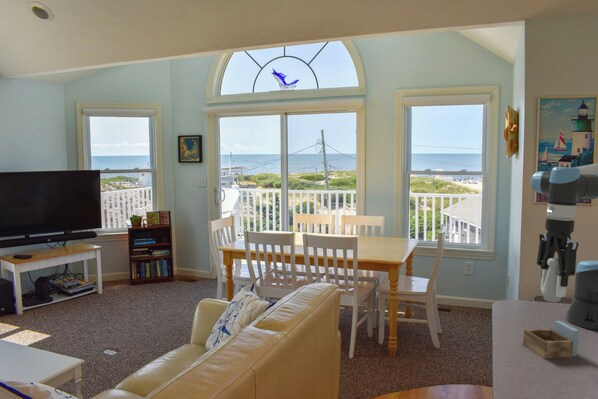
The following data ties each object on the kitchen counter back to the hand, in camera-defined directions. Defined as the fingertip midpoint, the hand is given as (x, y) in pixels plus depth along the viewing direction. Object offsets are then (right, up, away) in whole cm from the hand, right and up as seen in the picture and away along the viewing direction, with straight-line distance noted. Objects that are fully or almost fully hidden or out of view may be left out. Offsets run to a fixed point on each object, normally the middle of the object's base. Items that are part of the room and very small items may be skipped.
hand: (552, 292), depth 140 cm
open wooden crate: (-1, -18, +2) cm, 19 cm away
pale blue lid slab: (+5, -19, +3) cm, 20 cm away
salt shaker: (0, -3, 0) cm, 3 cm away
